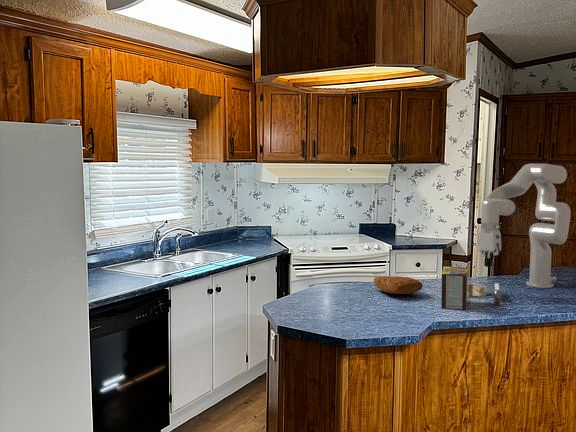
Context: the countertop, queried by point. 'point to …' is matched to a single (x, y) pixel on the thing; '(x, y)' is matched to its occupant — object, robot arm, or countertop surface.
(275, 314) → the countertop surface
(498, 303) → the knob on square plate
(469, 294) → the stile
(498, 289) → the white long bar
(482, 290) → the tan cube
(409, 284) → the cuneiform tablet
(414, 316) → the countertop surface
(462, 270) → the protein box
